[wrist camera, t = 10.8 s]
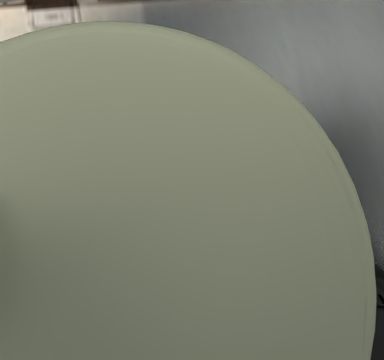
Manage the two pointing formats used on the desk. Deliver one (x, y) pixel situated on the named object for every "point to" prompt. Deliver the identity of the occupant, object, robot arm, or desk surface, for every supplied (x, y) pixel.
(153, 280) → the can
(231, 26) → the desk surface
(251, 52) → the desk surface
